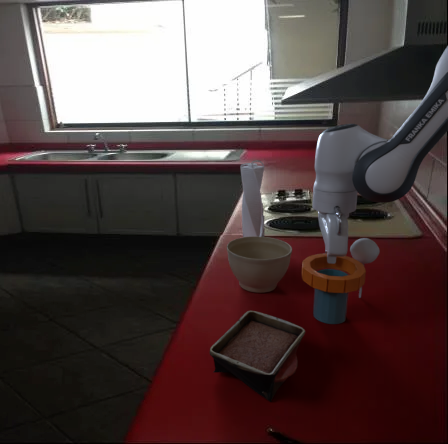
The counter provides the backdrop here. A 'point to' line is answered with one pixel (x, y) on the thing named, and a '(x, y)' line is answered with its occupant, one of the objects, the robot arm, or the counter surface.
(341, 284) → the ring
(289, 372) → the baking dish
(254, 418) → the counter surface
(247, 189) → the skyscraper
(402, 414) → the counter surface
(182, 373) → the counter surface
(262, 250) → the planter bowl
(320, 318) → the cup
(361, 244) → the lollipop
